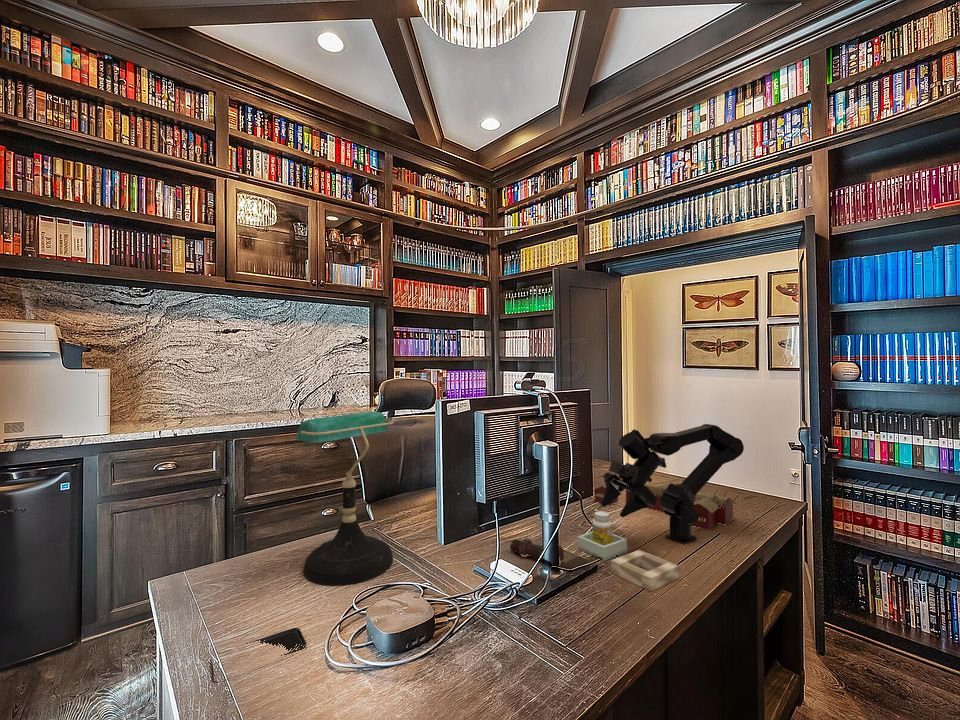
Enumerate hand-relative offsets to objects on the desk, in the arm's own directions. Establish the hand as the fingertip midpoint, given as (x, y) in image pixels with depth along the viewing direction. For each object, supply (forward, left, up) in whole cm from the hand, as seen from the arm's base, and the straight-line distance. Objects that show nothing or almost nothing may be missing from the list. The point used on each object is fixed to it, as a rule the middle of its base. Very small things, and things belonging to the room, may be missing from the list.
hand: (611, 511), depth 125 cm
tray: (+3, -1, -11) cm, 11 cm away
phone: (+90, -7, -11) cm, 91 cm away
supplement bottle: (+3, -1, -10) cm, 11 cm away
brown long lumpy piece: (+22, -8, -11) cm, 26 cm away
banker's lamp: (+65, -34, -11) cm, 74 cm away
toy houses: (-41, -13, -11) cm, 44 cm away
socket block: (+6, +15, -11) cm, 19 cm away
